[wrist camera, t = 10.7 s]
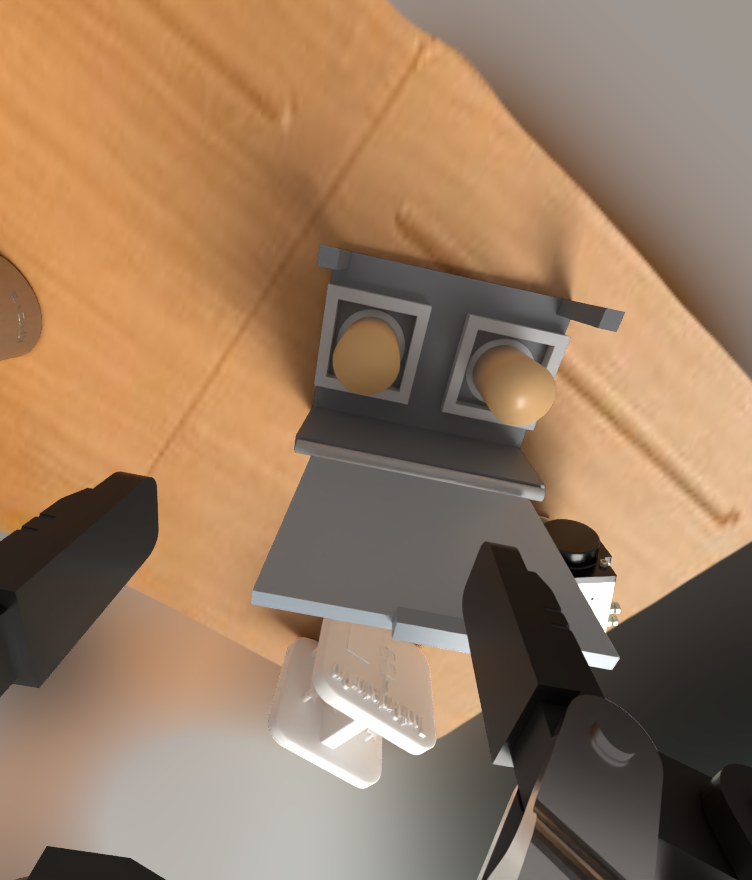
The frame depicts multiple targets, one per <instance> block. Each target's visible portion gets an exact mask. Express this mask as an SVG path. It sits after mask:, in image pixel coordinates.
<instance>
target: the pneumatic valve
mask: <svg viewBox="0 0 752 880" xmlns="http://www.w3.org/2000/svg"><path fill="white" fill-rule="evenodd" d="M539 517H540V519H541V521H542V522H543V524H544V526H545V528H546V529H547V531H548V533H549V535H550V536H551V538H552V540H553V542H554V543H555V545H556V547H557V549H558V550H559V552H560V554H561V556H562V557H563V559H564V561H565V563H566V564H567V566H568V568H569V570H570V571H571V573H572V575H573V577H574V578H575V580H576V582H577V584H578V585H579V587H580V589H581V591H582V592H583V594H584V596H585V598H586V599H587V601H588V603H589V605H590V606H591V608H592V610H593V612H594V613H595V615H596V617H597V619H598V620H599V622H600V624H601V626H602V627H603V629H604V631H605V633H606V629H607V626H610V625H613V626H616V625H618V619H617V617H616V615H614V614H611V613H614V612H615V613H620V611H621V608H620V605H619V604H618V603H617V602H612V597H613V592H614V587H615V581H616V576H617V575H616V574H615V572H614V571H613V569H612V568H611V567H610V563H611V558H612V556H611V555H610V553H609V552H608V551H607V549H606V548H605V547H604V545H603V544H602V543H601V541H600V539H599V536H598V535H597V533H596V532H595V531H594V530H593V529H591V528H590V527H588V526H587V525H585V524H582V523H580V522H577V521H573V520H567V519H556V520H551V519H549V518H545V517H542V516H539ZM609 613H610V615H609Z"/></svg>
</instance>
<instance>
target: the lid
mask: <svg viewBox="0 0 752 880" xmlns="http://www.w3.org/2000/svg"><path fill="white" fill-rule="evenodd" d="M485 541H487V542H492V543H497V544H503V545H508V546H513V547H516V548H517V549H518V550H519V552H520V554H521V556H522V559H523V561H524V563H525V565H526V568H527V570H528V571H532V572H536V573H537V574H538V575H539V576H540V577H541V578H542V580H543V581H544V582H545V583H546V584H547V585H548V586H549V587H550V588H551V589H552V591H553V593H554V595H555V597H556V599H557V601H558V603H559V605H560V607H561V609H562V610H561V613H563V614H564V616H565V618H566V620H567V622H568V624H569V626H570V627H569V629H570V630H571V631H572V632H573V634H574V636H575V638H576V640H577V642H578V644H579V646H580V648H581V650H582V652H583V655H584V657H585V659H586V661H587V663H588V665H589V666H593V667H598V668H604V669H610V670H612V669H613V667H614V666H615V664H616V663H617V661H618V660H619V658H620V657H619V655H618V654H617V652H616V650H615V648H614V647H613V645H612V643H611V641H610V640H609V638H608V636H607V634H606V633H605V631H604V629H603V627H602V626H601V624H600V622H599V620H598V619H597V617H596V615H595V613H594V612H593V610H592V608H591V606H590V605H589V603H588V601H587V599H586V598H585V596H584V594H583V592H582V591H581V589H580V587H579V585H578V584H577V582H576V580H575V578H574V577H573V575H572V573H571V571H570V570H569V568H568V566H567V564H566V563H565V561H564V559H563V557H562V556H561V554H560V552H559V550H558V549H557V547H556V545H555V543H554V542H553V540H552V538H551V536H550V535H549V533H548V531H547V529H546V528H545V526H544V524H543V522H542V521H541V519H540V517H539V515H538V514H537V512H536V510H535V508H534V507H533V505H532V503H531V502H530V500H529V499H528V498H523V497H518V496H513V495H507V494H502V493H497V492H492V491H487V490H482V489H477V488H472V487H467V486H462V485H457V484H452V483H447V482H442V481H437V480H432V479H427V478H422V477H417V476H412V475H407V474H402V473H397V472H392V471H387V470H382V469H377V468H372V467H367V466H362V465H357V464H352V463H347V462H342V461H337V460H332V459H327V458H322V457H317V456H312V455H311V457H310V460H309V462H308V464H307V466H306V469H305V471H304V473H303V476H302V478H301V480H300V483H299V485H298V487H297V490H296V492H295V494H294V496H293V499H292V501H291V503H290V506H289V508H288V510H287V513H286V515H285V517H284V519H283V522H282V524H281V526H280V529H279V531H278V533H277V536H276V538H275V540H274V543H273V545H272V547H271V549H270V552H269V554H268V556H267V559H266V561H265V563H264V566H263V568H262V570H261V572H260V575H259V577H258V579H257V582H256V584H255V586H254V589H253V592H252V603H251V604H252V605H257V606H263V607H268V608H274V609H279V610H285V611H290V612H296V613H301V614H307V615H312V616H318V617H323V618H329V619H334V620H340V621H345V622H351V623H356V624H362V625H367V626H373V627H378V628H384V629H389V630H392V640H397V641H403V642H409V643H414V644H420V645H425V646H431V647H436V648H442V649H447V650H453V651H458V652H464V653H469V654H471V653H470V648H469V643H468V638H467V633H466V628H465V623H464V618H463V612H462V599H463V592H464V588H465V585H466V583H467V580H468V577H469V575H470V572H471V570H472V567H473V565H474V562H475V559H476V557H477V554H478V552H479V549H480V547H481V545H482V544H483V543H484V542H485Z"/></svg>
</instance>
